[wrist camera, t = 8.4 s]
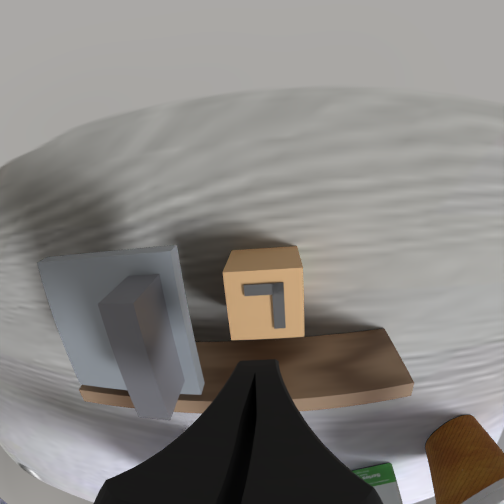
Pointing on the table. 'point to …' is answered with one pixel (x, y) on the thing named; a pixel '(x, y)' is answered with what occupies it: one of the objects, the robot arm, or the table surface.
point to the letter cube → (264, 293)
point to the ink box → (382, 482)
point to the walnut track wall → (297, 371)
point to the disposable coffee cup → (465, 464)
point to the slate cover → (126, 324)
